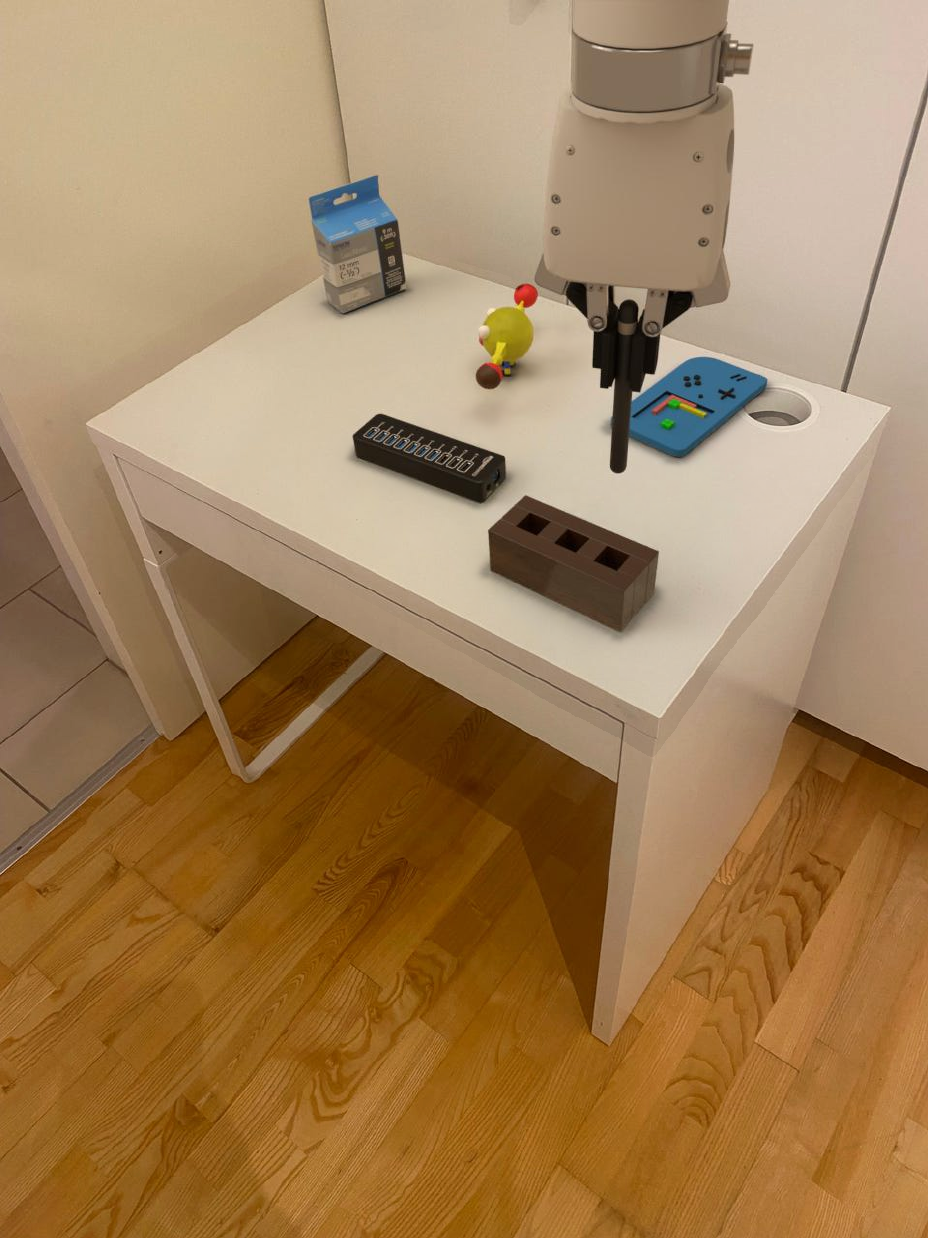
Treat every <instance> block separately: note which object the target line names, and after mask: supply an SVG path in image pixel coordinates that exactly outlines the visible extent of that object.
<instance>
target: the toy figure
mask: <svg viewBox="0 0 928 1238" xmlns="http://www.w3.org/2000/svg"><path fill="white" fill-rule="evenodd" d="M538 297H539V292H538V290H537V288H536V287H535V286H534V285H532V284H531V283H522V284H519V285H518V286H516V288H515V289H514V293H513V300H514V302H515V304H516V305H515V307H512V306H503V307H500V308H497V307H490V308H488V309H487V311H486V318H485V320H484V322H483V324H482V325H480V326H479V327H478V330H477V335H478V337H479V338H478V342H479V344H480V345H481V346H482V347H484V350H485V351H486V352H487V353H488V354H489V355H490V356H491V357H490V358H491V359H490V361H491V362H486V363H483V364H482V365H480V366H479V367H478V369H477V370H476V372H475V380H476V382H477V384H478V386H479V387H482V389H485V390H494V389H496V388H497V387H499V385H500V384H501V383H502V380H503V377H511V376H512V373H511V369H512V368H513V367H515V366H516V364H517V362H516V360H519V359H520V358H522V357H524V356H525V355H526V354H527V353H528V351H529V350H530V348H531V347H532V344H533V341H534V334H535V333H534V326H533V323H532V321H531V320H530V318H529V316H528V315H527V314H526V312H525V309H527V308H531V307H533V306H534V305H535V303H536V302H537V299H538ZM500 365H501V367H503V369H502V368H501V367H500Z"/></svg>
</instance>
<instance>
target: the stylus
mask: <svg viewBox="0 0 928 1238" xmlns="http://www.w3.org/2000/svg"><path fill="white" fill-rule="evenodd" d="M618 309H619V315H618V333H617V350H616V367H615V379H614V382H613V384H614V385H613V399H612V401H613V402H612V416H611V417H612V427H611V434H610V435H611V437H610V453H609V454H610V455H609V469H610V470H611V472H613V473H614V474H622V473H625V471H626V470H627V468H628V457H629V444H630V443H629V440H630V436H629V430H630V417H631V404H632V401H633V392H632V389H629V382H630V369H631V355H632V342H633V336H634V333H635V330H636V328H637V326H638V321H639V309H640V307H639V304H638V303H637V301H635V300H634V299H631V298H629V299H625V300H623V301H622V302H621V303H620V304H619V307H618Z"/></svg>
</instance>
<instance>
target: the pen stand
mask: <svg viewBox="0 0 928 1238" xmlns="http://www.w3.org/2000/svg"><path fill="white" fill-rule="evenodd" d="M487 535H488V548H489V549H488V551H489V566H490V567H489V568H490V571H491V572H493V573H495V574H497V575H499V576H500V577H502V578H505V579H507V580H509V581H511V582H513V583H515V584H518V585H520V586H522V587H524V588H526V589H528V590H531V591H532V592H535V593H537V594H538V595H541V596H543V597H545V598H548V599H549V600H552V601H553V602H555V603H557V604H560V605H562V606H564V607H566V608H568V609H570V610H572V611H575V612H576V613H579V614H581V615H582V616H585V617H587V618H590V619H591V620H593V621H595V622H598V623H600V624H602V625H604V626H606V627H608V628H610V629H612V630H614V631H617V632H619V633H622V632H623V631H624V629H625V628H626V627H627V626H628V624H630V622H631V621H632V620H633V619H634V617H636V616H637V614H638V613H639V612H640V611H641V610H642V608H643V607H644V606H645V604H646V603H647V602H648V601H649V600H650V599H651V597H652V596H653V595H654V594H655V591H656V582H657V581H656V580H657V575H658V563H659V557H660V556H659V555H660V551H658V550H657V549H654V548H652V547H649V546H647V545H645V544H643V543H640V542H638V541H635V540H633V539H630V538H628V537H626V536H623V535H621V534H619V533H616V532H614V531H612V530H609V529H607V528H604V527H602V526H600V525H598V524H596V523H593V522H591V521H588V520H586V519H583V518H581V517H579V516H576V515H574V514H571V513H569V512H567V511H564V510H562V509H560V508H557V507H554V506H553V505H551V504H548V503H545V502H543V501H541V500H539V499H536V498H534V497H532V496H529V495H526V494H525V495H524V496H523V497H522V498H521V499H520V500H518V501H517V502H516V503H515V504H514V505H513V506H512V507H511V508H510V509H509V510H508V511H507V512H506V513H505V514H504V515H502V517H500V518H499V519H498V520H497V521H496V522H495V523H494V524H493V525H491V527H490V528H489V529H488V530H487Z"/></svg>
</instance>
